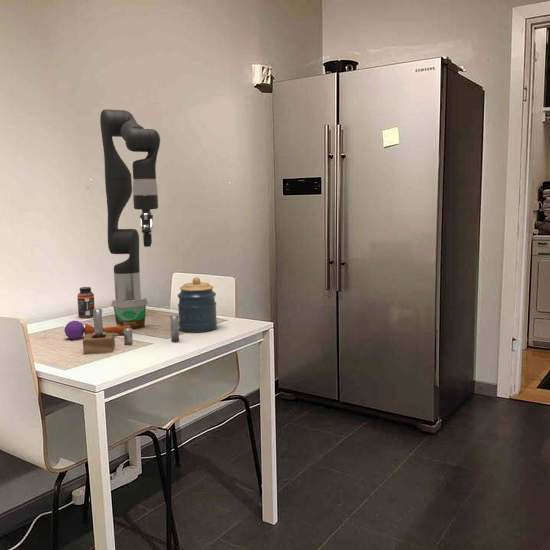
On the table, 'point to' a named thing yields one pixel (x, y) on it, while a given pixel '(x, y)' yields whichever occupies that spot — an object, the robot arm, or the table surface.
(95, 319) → the long pin
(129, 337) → the short pin
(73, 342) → the table surface
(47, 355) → the table surface
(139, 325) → the food container
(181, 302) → the canister
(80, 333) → the kendama
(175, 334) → the medium pin
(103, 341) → the hole block
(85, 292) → the supplement bottle
